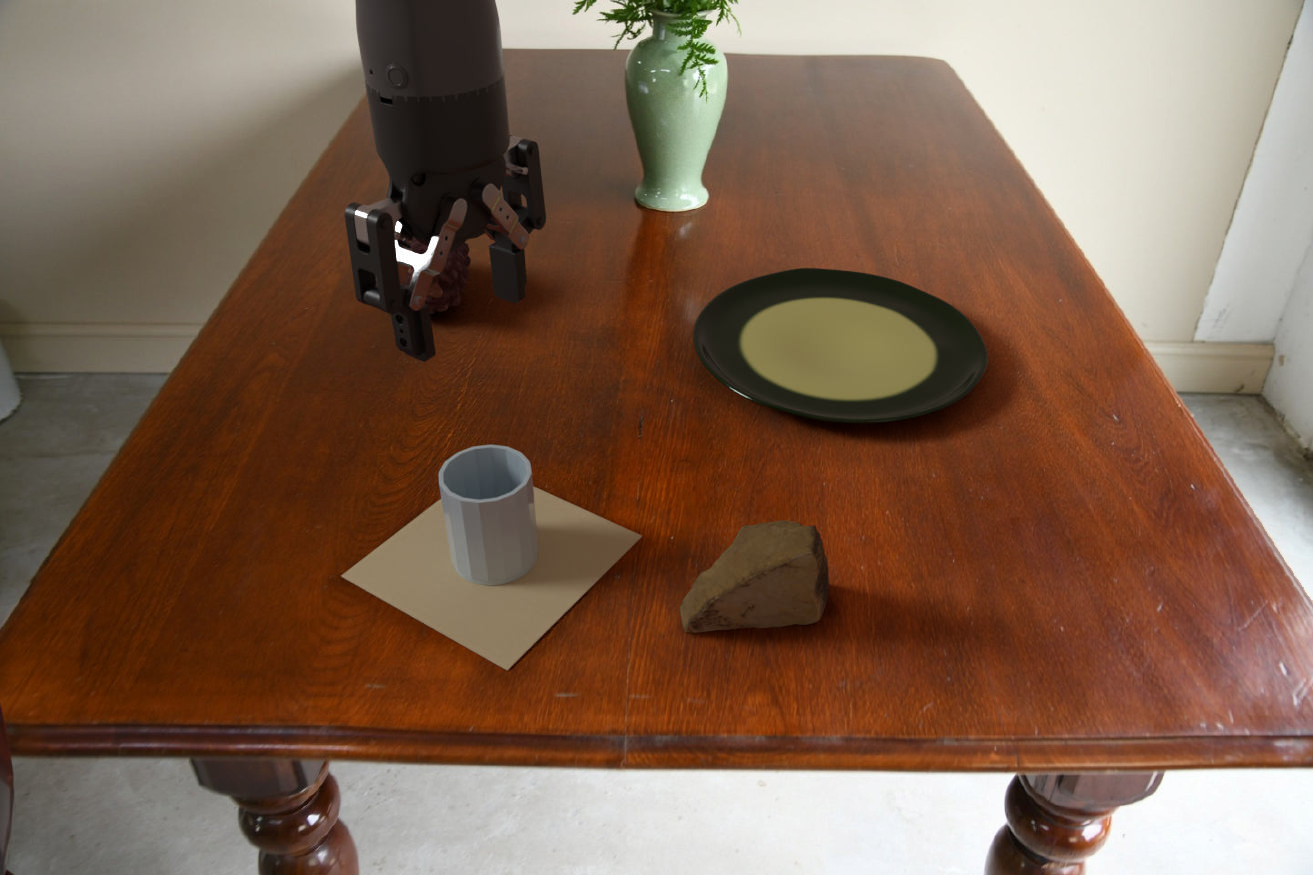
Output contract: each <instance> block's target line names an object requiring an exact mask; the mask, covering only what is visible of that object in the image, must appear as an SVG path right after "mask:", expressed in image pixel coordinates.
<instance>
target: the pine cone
mask: <svg viewBox="0 0 1313 875" xmlns="http://www.w3.org/2000/svg"><path fill="white" fill-rule="evenodd" d="M428 248H429V247H428V246H425V245H423V244H421V243H419V242H418V241H417V240H416V239H415V238H414V237H413V240H412V243H411V250H412V252H414V253H417V254H420V255H422V254H424V253H426V252H427V250H428ZM469 253H470V246H469V244H468V243H466V241H465V242H464V243H463V244H462V245H461V246H460V247H459V248H457V249H455V250H454V251H452V252H449V254H448V257H447V260H446V263H445V266H444V269H443V271H442V272H441V273H440V274H438V275H435V276H434V278H433V280H432V283H431V286H430V289H429V292H428V295H427V298H426V301H425V304H426V305H429V311H430V315H433V314H435V312H438V313H442V312H445V311H447V310H448V309H449V307H451V308H453V307H457V306H459V305H460V303H461V300H462V298H461V295H462V294H464V293H465V291H466V285H467V282H468V280H469V277H470V270H469V267H470V265H471V262H472V261H471V260H472V259H471V257H470V256H469ZM413 273H414V267H413V266H411V267H410V268H409V270H408V273H407V276H406V279H405V282H404V284H405V285H407V286H409V285H410V282H411V279H412V276H413ZM375 277H376V276H375ZM376 284H378V283H377V277H376Z"/></svg>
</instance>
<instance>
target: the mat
mask: <svg viewBox="0 0 1313 875" xmlns="http://www.w3.org/2000/svg"><path fill="white" fill-rule="evenodd" d="M533 490H534V502H535V513H536V524H537V535H538V546H539V553H538V558H537V561H536V563H535V565H534V566H533V568H532V569H531V570H530V571H529V572H528V573H526V574H525V575H524V576H522V577H521V578H519V579H517V580H515V581H512V582H509V583H505V584H501V585H480V584H475V583H472V582H469V581H467V580H465V579H464V578H462V577H461V576H460V575H459V574H458V573H457V572H456V571H455V569H454V567H453V564H452V561H451V555H450V549H449V543H448V537H447V530H446V524H445V518H444V512H443V506H442V499H441V498H440V499H439V500H437V501H436V502H435V503H433V504H431V505H430V506H429V507H428V508H426V510H423V512H422V513H420V514H419V515H417V516H416V517H415V518H413V520H411V521H410V522H409V523H407V524H406V525H405V526H403V527H402V528H401V529H400V530H398V531H397V532H396V533H394V534H393V535H392V536H391V537H389V538H388V539H386V540H385V541H384V542H383V543H382V544H380V545H379V546H377V547H376V548H375V549H373V550H372V551H371V552H370V553H368V554H367V555H366V556H365V557H363V558H362V559H361V560H359V561H358V562H357V563H356V564H354V565H353V566H351V567H350V568H349V569H348V570H346V571H345V572H344V573H343V574H341V575H340V577H341V578H343V579H344V580H346V581H347V582H350V583H351V584H353V585H355V586H356V587H359V588H360V589H362V590H364V591H365V592H366V593H368V594H371V595H373V596H375V597H376V598H378V599H379V600H381V601H383V602H384V603H387V604H388V605H390V606H392V607H394V608H395V609H397V610H399V611H401V612H402V613H405V614H406V615H408V616H409V617H411V618H413V619H415V620H417V621H418V622H420V623H422V624H423V625H425V626H426V627H429V628H431V629H433V630H434V631H436V632H438V633H440V634H441V635H443V636H445V637H447V638H448V639H449V640H452V641H454V642H456V643H457V644H459V645H461V646H463V647H464V648H465V649H468V650H470V651H471V652H473V653H474V654H477V655H479V656H480V657H482V658H484V659H486V660H487V661H489V662H491V663H492V664H494V665H496V666H498V667H500V668H502V669H503V670H505V671H506V672H507V671H509V670H510V669H511V668H512V667H513V666H514V665H515V664H516V663H517V662H518V661H519V660H520V659H521V658H522V657H524V655H525V654H526V653H527V652H528V651H529V650H530V649H531V648H532V647H533V646H535V644H537V643H538V641H539V640H540V639H541V638H542V637H543V636H544V635H546V634H547V632H548V631H550V629H551V628H552V627H553V626H554V625H556V623H558V621H559V620H561V619H562V617H563V616H564V615H565V614H566V613H567V612H568V611H569V610H570V609H571V608H572V607H573V606H574V605H576V603H577V602H578V601H580V599H581V598H582V597H583V596H584V595H585V594H586V593H587V592H589V591H590V589H592V587H593V586H595V584H596V583H597V582H599V580H600V579H601V578H602V577H603V576H604V575H605V574H606V573H607V572H608V571H609V570H611V569H612V568H613V566H614V565H615V564H617V562H618V561H619V560H621V558H622V557H623V556H625V554H626V553H627V552H628V551H630V550H631V549H632V547H633V546H635V545H636V544H637V543H638V541H639V540H641V539H642V537H643V535H642V534H639V533H637V532H635V531H633V530H630V529H629V528H626V527H624V526H623V525H622V526H621V525H619V524H617V523H615V522H613V521H611V520H608V519H606V518H604V517H602V516H600V515H597V514H595V513H593V512H591V511H589V510H587V509H584V508H582V507H580V506H578V505H575V504H573V503H571V502H569V501H567V500H564V499H562V498H560V497H558V496H555V495H554V494H551V493H549V492H547V491H545V490H542V489H540V488H538V487H536V486H534V485H533Z"/></svg>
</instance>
